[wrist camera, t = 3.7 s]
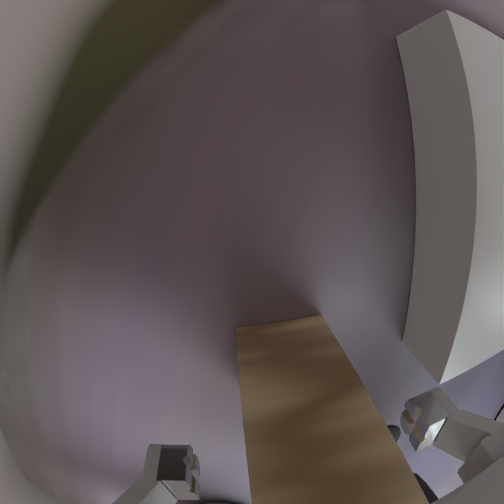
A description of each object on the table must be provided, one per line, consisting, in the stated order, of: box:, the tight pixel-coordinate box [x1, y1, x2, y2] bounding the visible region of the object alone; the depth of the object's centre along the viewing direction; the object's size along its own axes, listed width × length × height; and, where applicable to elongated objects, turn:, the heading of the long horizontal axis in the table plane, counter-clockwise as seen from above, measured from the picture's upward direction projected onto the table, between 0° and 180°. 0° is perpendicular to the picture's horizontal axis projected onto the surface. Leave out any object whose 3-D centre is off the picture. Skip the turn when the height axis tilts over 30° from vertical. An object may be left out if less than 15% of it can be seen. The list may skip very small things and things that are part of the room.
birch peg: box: [235, 315, 429, 504], centre depth 9 cm, size 4×4×10 cm
